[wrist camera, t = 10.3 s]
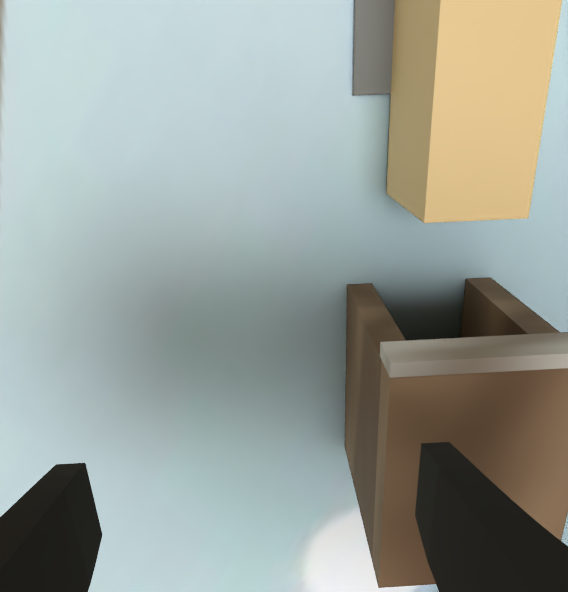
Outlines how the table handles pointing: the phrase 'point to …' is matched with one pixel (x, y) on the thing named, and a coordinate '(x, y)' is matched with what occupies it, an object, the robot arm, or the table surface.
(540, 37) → the tan rectangular block
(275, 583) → the table surface
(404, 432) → the brown wooden open box
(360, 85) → the mat
